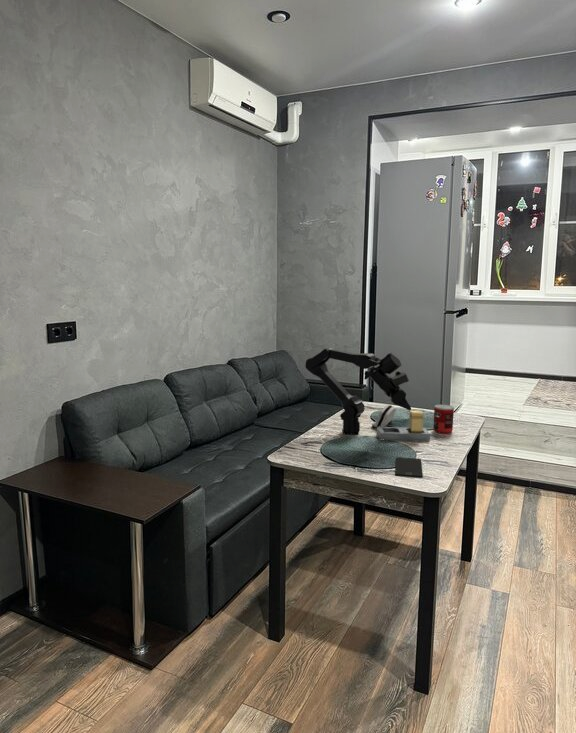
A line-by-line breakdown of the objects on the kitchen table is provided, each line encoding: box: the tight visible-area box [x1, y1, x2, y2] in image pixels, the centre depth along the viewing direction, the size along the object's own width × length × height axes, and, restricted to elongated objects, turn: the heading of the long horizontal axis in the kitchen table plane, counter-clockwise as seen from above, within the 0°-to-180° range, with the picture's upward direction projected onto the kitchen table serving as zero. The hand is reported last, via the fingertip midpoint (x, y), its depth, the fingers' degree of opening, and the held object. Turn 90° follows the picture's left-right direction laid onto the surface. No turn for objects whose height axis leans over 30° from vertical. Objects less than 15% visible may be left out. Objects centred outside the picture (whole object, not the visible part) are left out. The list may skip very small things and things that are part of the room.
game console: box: [370, 404, 397, 429], centre depth 239 cm, size 17×5×10 cm, turn 154°
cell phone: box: [394, 456, 424, 478], centre depth 185 cm, size 9×18×1 cm, turn 168°
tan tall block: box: [408, 409, 424, 433], centre depth 219 cm, size 5×5×11 cm
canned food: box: [433, 404, 455, 435], centre depth 229 cm, size 8×8×11 cm
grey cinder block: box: [376, 426, 431, 442], centre depth 220 cm, size 20×9×3 cm, turn 89°
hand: (408, 406), depth 218 cm, fingers open, 9 cm apart
